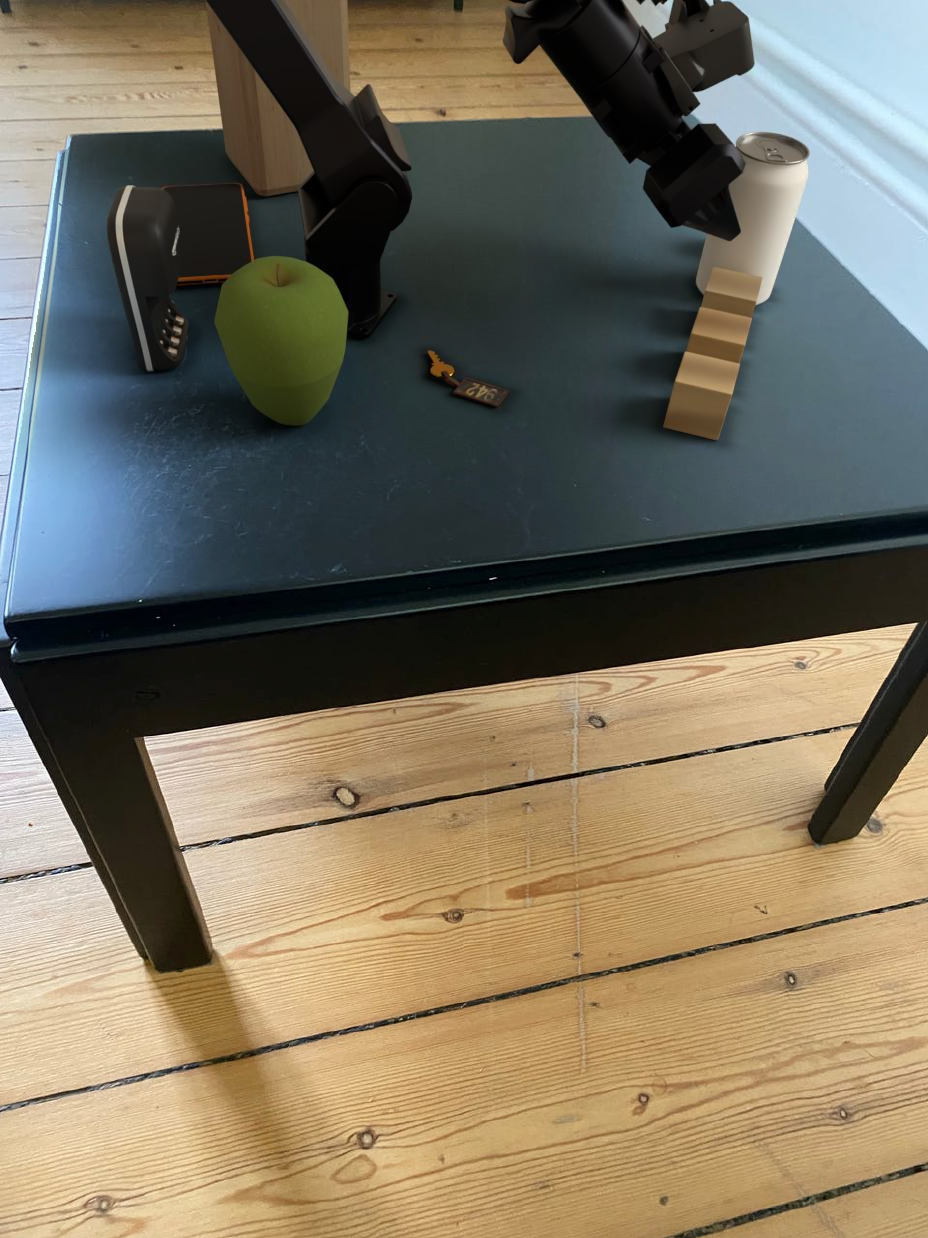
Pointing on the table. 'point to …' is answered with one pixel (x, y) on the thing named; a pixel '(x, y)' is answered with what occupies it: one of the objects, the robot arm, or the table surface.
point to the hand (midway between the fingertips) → (713, 207)
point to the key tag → (468, 384)
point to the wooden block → (252, 113)
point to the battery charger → (149, 273)
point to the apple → (283, 335)
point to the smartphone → (212, 231)
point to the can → (760, 209)
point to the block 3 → (701, 395)
